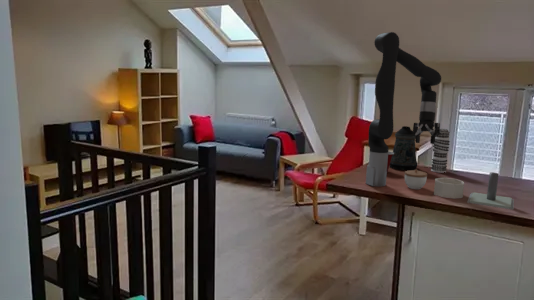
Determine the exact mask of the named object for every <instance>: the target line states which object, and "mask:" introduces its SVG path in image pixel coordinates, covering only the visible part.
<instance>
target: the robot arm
mask: <svg viewBox="0 0 534 300" xmlns="http://www.w3.org/2000/svg"><path fill="white" fill-rule="evenodd" d="M373 43H374V47H375V48H376V50H377V51H379V52H380V53H381V54H382V62H381V65H380V68H379V70H378V72H377V74H376V77H375V82H374V95H375V100H376V102H377V104H378V108H379V109H378V110H379V119H378V118H377V119H372V121H371V122H370V124H369V127H368V139H367V141H368V142H367V143H368V147H369V154H368V164H367V165H366V173H365V184H366V185H369V186H370V187H385V186H386V185H387V173H388V172H387V163H388V151H390V150H389V149H390V148H389V146H388V145H387V143H386V142H385V140H388V139H390V138H391V137H392V136H393V132H394V100H395V99H394V98H395V86H396V85H395V84H396V71H397V63H398V64H399V65H401V66H402V67H403V68H405V69H406V70H407V71H408V72H410V74H412V75H413V76H415V77H417V78H419V86H420V92H421V102H420V107H419V116H418V121H419V122H413V127H412V131H413V134H414V135H416V138H415V144H420V142H421V134H423V133H424V132H428V133H429V134H430V145H431V144H432V145H434V143H435V137H436V136H437V135H439V134H440V129H441V122H440V123H439V122H435V120H436V113H437V112H436V110H437V105H436V103H437V92H436V91H435V90H432V87H434V86H438V85H439V84H441V82H442V75H441V73H439V71H437V70H436V69H434V68H432V67H430V66H428V65H426V64H425V63H423V62H422V60H420V59H419V58H418V57H416V56H415V55H413V54H411V53H410V52H409V53H408V52H407V51H405V50H403V49H401V48H400V37H399V35H398V34H397V33H396V32H393V31H389V32H384V33H380V34H378V35H377V36H376V37H375V40H374V42H373Z"/></svg>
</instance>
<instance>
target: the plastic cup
mask: <svg viewBox="0 0 534 300" xmlns="http://www.w3.org/2000/svg"><path fill="white" fill-rule="evenodd" d="M393 154H394V153H393V151H390V150H388V163H387V173H388V172H389V169H390V162H391V158H392V156H393Z"/></svg>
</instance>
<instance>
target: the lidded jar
mask: <svg viewBox="0 0 534 300" xmlns="http://www.w3.org/2000/svg"><path fill="white" fill-rule="evenodd" d="M427 177H428V173H427V172H425V171H422V170H418V169H417V168H416V169H415V170H409V171H404V183H405V185H406V186H407V187H408V189H411V190H422V189H423V187H424V186H425V185H426V183H427Z"/></svg>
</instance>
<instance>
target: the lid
mask: <svg viewBox="0 0 534 300" xmlns="http://www.w3.org/2000/svg"><path fill="white" fill-rule="evenodd" d="M499 175H500V174H499V173H498V172H495V171H494V172H489V177H488V183H487V184H488V185H487V192H486V193H480V192H474V191H472V193H473V194H472V196H471V199H470V202H471V203H470V204H473V203H478V204H477V205H479V204H484V205H483V206H486V205H490V206H489V207H492V206H497V207H496V208H499V207H503V208H502V209H505V208H510V209H509V210H511V199H512V197H509V196H501V195H497V190H498V183H499Z"/></svg>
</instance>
